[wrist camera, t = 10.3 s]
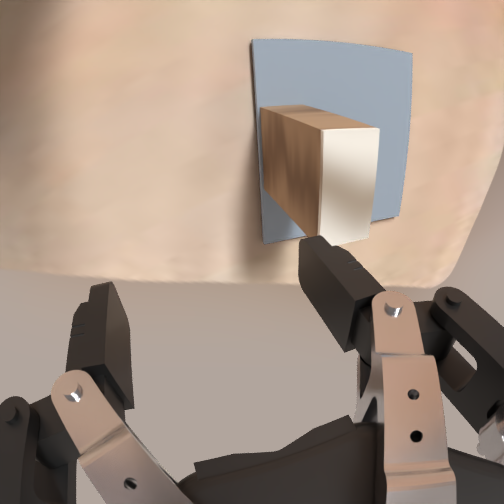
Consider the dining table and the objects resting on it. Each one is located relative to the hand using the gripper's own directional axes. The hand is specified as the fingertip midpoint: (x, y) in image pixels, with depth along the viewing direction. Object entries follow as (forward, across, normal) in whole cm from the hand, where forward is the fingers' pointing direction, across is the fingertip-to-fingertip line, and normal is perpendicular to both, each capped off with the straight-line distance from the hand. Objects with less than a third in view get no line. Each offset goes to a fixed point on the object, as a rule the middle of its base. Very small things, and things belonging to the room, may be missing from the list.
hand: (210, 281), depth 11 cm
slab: (+15, -9, 0) cm, 18 cm away
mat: (+16, -15, 0) cm, 22 cm away
